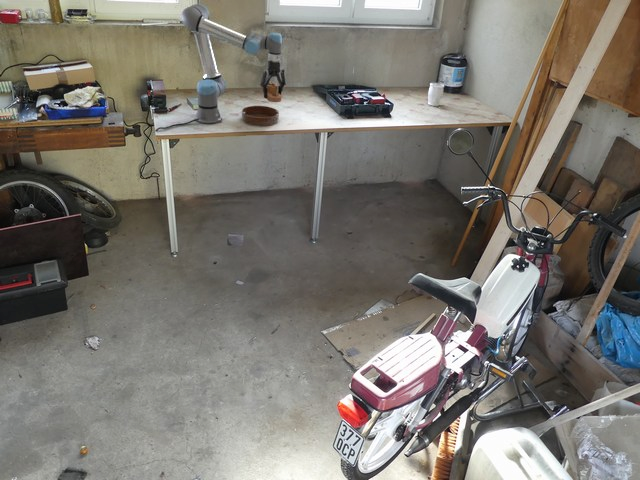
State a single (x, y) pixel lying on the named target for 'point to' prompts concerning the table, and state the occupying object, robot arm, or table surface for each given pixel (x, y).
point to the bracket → (273, 93)
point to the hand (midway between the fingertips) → (272, 97)
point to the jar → (435, 93)
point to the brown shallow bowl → (260, 115)
